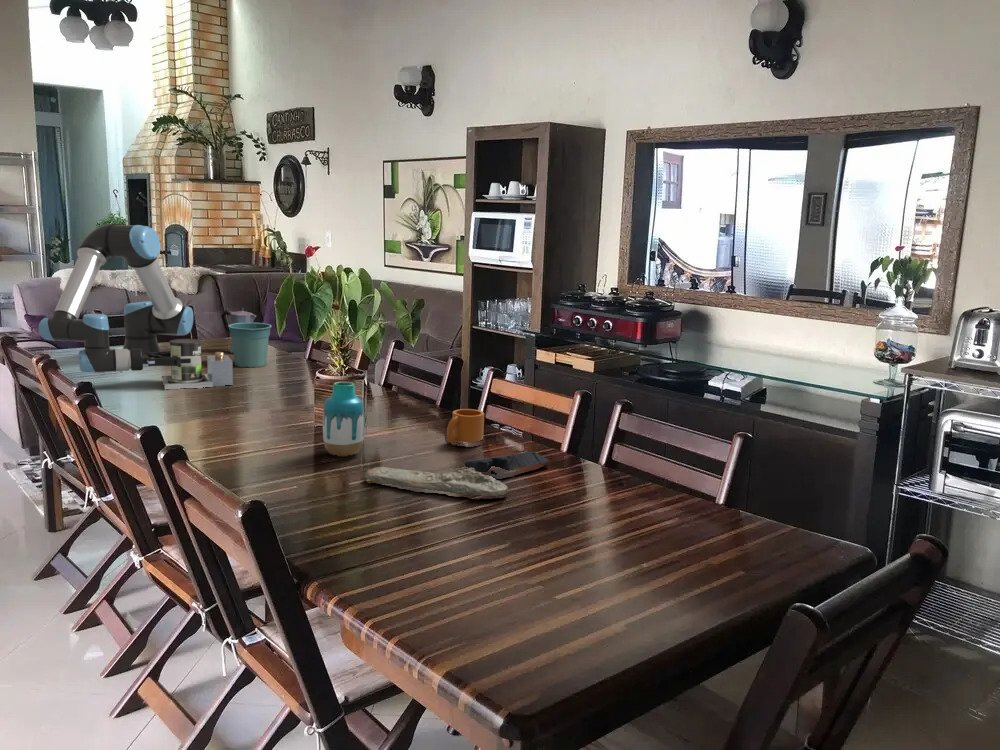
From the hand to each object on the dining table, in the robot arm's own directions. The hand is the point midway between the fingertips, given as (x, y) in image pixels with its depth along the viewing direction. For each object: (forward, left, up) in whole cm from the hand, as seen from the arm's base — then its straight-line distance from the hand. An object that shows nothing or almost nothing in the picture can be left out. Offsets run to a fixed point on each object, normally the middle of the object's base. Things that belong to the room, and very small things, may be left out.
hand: (198, 357), depth 286 cm
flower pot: (-31, +23, -10) cm, 40 cm away
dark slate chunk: (+123, +60, -10) cm, 137 cm away
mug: (+99, +59, -10) cm, 116 cm away
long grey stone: (+131, +38, -10) cm, 137 cm away
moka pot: (-60, +23, -10) cm, 65 cm away
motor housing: (0, -1, -10) cm, 10 cm away
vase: (+99, +25, -10) cm, 103 cm away
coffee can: (0, -4, -8) cm, 9 cm away
